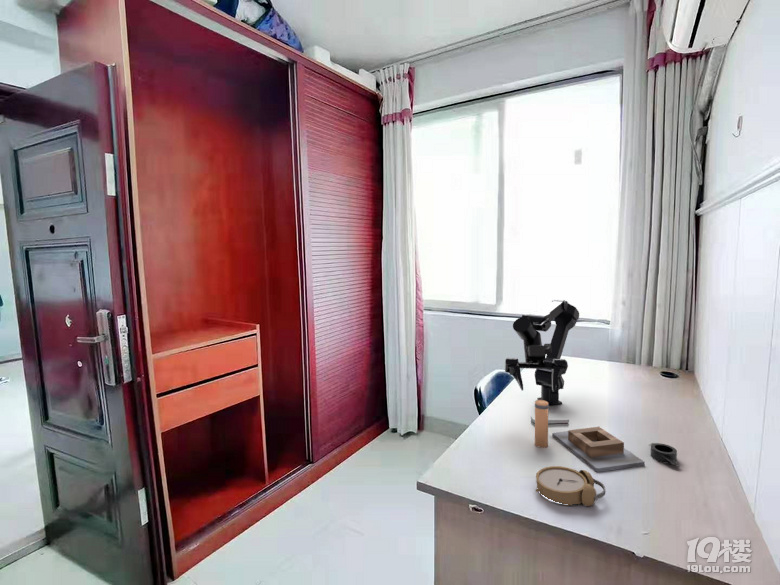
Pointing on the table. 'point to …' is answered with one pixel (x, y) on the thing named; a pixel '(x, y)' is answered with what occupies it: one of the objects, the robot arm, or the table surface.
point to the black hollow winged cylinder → (664, 453)
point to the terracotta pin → (541, 423)
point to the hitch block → (598, 449)
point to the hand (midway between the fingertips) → (538, 390)
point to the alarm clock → (568, 485)
